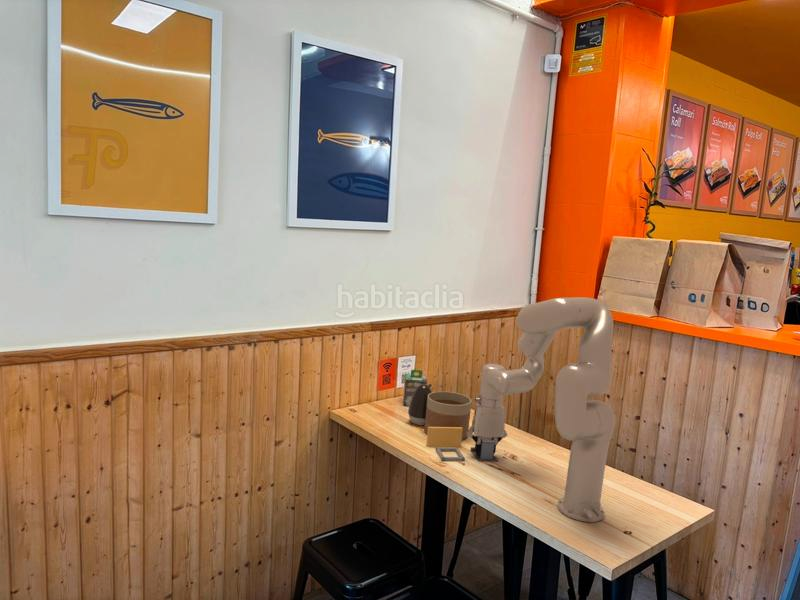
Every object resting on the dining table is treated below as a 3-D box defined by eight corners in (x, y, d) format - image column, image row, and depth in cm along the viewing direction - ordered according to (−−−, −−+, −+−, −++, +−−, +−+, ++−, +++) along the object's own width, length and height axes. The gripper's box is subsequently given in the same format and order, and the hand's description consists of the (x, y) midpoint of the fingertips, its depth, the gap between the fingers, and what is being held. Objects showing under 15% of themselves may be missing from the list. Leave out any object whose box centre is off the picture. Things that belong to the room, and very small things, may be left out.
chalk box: (424, 401, 249) (427, 367, 247) (425, 408, 240) (428, 373, 238) (402, 399, 249) (405, 365, 247) (402, 406, 240) (406, 371, 238)
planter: (436, 444, 202) (440, 406, 200) (416, 428, 216) (420, 392, 214) (475, 440, 209) (479, 403, 207) (454, 425, 223) (457, 390, 221)
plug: (492, 459, 192) (494, 441, 192) (481, 459, 192) (483, 441, 191) (487, 452, 197) (489, 435, 196) (476, 452, 196) (478, 435, 196)
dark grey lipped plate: (498, 462, 191) (499, 458, 191) (478, 462, 189) (479, 458, 189) (489, 451, 200) (490, 447, 199) (470, 451, 198) (470, 447, 198)
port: (470, 462, 189) (473, 441, 188) (435, 462, 187) (437, 441, 186) (459, 446, 202) (462, 427, 201) (426, 446, 199) (428, 426, 198)
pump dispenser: (439, 423, 224) (442, 384, 221) (425, 430, 215) (429, 390, 213) (416, 416, 229) (419, 378, 227) (402, 423, 220) (405, 384, 218)
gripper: (469, 404, 187) (463, 459, 189) (518, 406, 190) (512, 459, 192) (462, 397, 194) (457, 450, 196) (510, 398, 197) (504, 450, 200)
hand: (484, 454), depth 194 cm, fingers closed on plug, 4 cm apart
